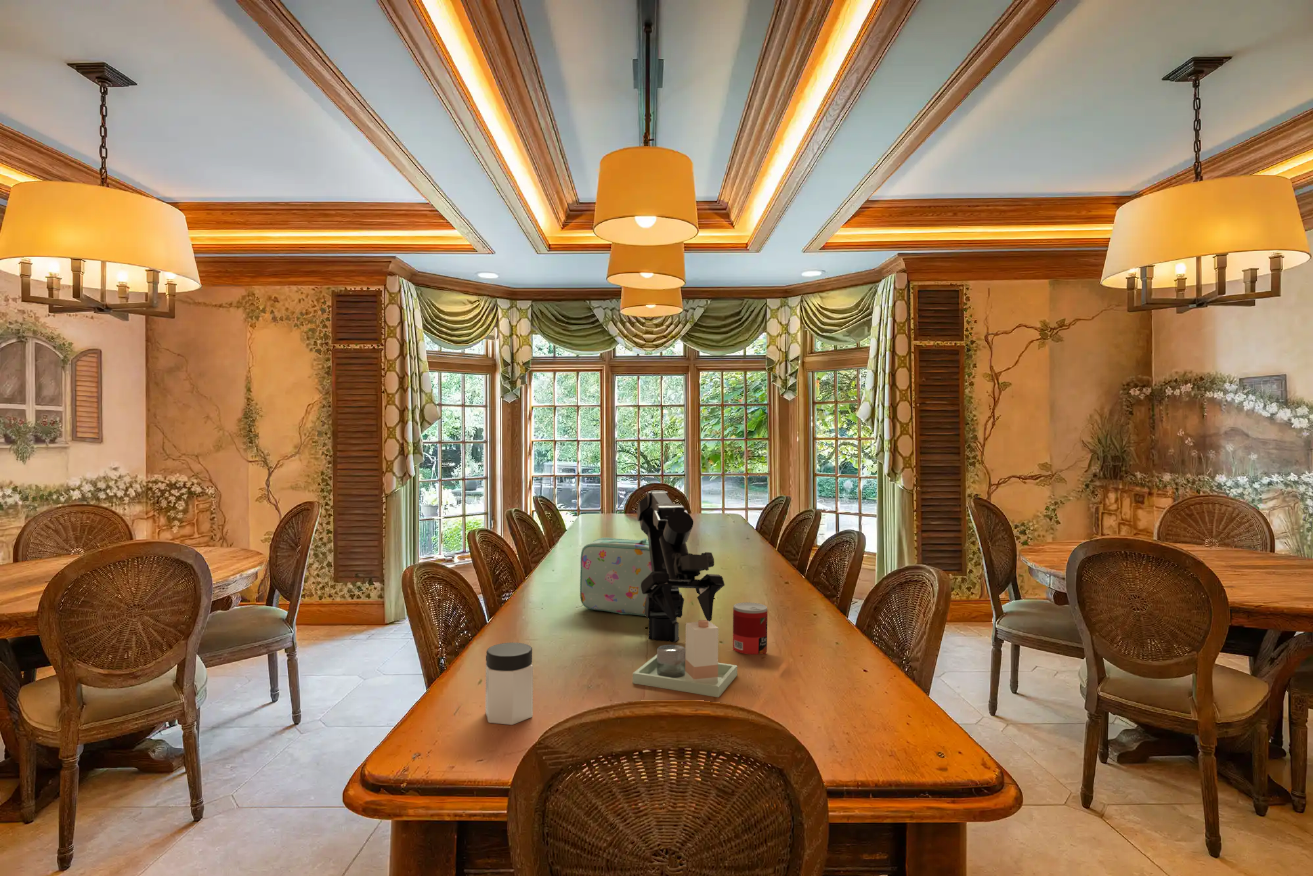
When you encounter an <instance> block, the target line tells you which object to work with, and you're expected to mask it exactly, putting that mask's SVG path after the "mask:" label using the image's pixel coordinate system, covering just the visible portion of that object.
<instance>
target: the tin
mask: <svg viewBox="0 0 1313 876" xmlns="http://www.w3.org/2000/svg"><path fill="white" fill-rule="evenodd" d="M685 654H686V647H684V646H682V645H679V644H678V645H676V644H664V645H660V646H658V647H657V649H656V655H657V674H658V675H659V676H664V677H670V678H679V677H682V676H684V675H685Z"/></svg>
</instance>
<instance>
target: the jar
mask: <svg viewBox="0 0 1313 876" xmlns="http://www.w3.org/2000/svg"><path fill="white" fill-rule="evenodd" d="M485 652H486V653H485V654H486V655H485V715H486V719H487V723H489V724H499V725H510V726H512V725H515V724H518V723H520V722H523V721H525V720H528V719H530V718H532V717H533V716H534V715H533V714H534V713H533V711H534V707H533V706H534V705H533V704H534V699H533V697H534V665H533V647H532V646H531V645H529V644H528V643H523V642H502V643H498V644H497V643H496V644H494V645H492V646H490V647H488V648H487V649H486V651H485Z"/></svg>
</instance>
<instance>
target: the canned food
mask: <svg viewBox="0 0 1313 876" xmlns="http://www.w3.org/2000/svg"><path fill="white" fill-rule="evenodd" d="M732 610H733V613H732V650H733V651H735V652H737V653H740V654H745V655H767V652H768V607H767V605H764V604H763V603H757V602H750V601H749V602H747V601H746V602H738V603H735V604H733V608H732Z"/></svg>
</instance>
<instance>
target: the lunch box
mask: <svg viewBox="0 0 1313 876" xmlns="http://www.w3.org/2000/svg"><path fill="white" fill-rule="evenodd" d="M579 572H580V577H579V596H580V602H581V604H582V606H583V607H585V608H586V609H588V610H595V611H604V612H609V613H610V612H611V613H614V614H619V615H633V616H645V617H646V615H645V601H646V597H647V594H643V593H642V590H641V582H642V581H643V580H644V579H645V578H646V577H647V576H648V575H649V574H650V573H651V572H652V568H651V560H650V551H649V543H648V538H645V537H644V538H642V539H629V538H627V539H626V538H613V537H601V538H600V537H599V538H597V539H595V540H593V541H592V542H590V543H588V544H586V545H584V546H583V547H582V549H581V553H580V570H579Z"/></svg>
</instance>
